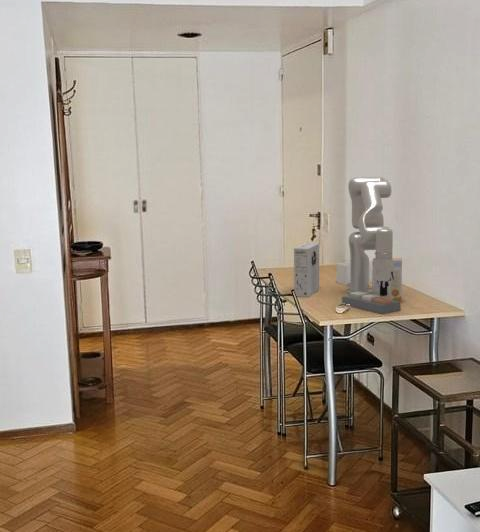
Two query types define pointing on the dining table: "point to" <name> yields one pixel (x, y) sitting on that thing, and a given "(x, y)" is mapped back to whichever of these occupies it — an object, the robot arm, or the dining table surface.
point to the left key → (358, 294)
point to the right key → (383, 300)
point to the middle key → (370, 297)
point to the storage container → (344, 272)
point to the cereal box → (306, 269)
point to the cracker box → (393, 289)
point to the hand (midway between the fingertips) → (383, 295)
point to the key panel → (371, 305)
